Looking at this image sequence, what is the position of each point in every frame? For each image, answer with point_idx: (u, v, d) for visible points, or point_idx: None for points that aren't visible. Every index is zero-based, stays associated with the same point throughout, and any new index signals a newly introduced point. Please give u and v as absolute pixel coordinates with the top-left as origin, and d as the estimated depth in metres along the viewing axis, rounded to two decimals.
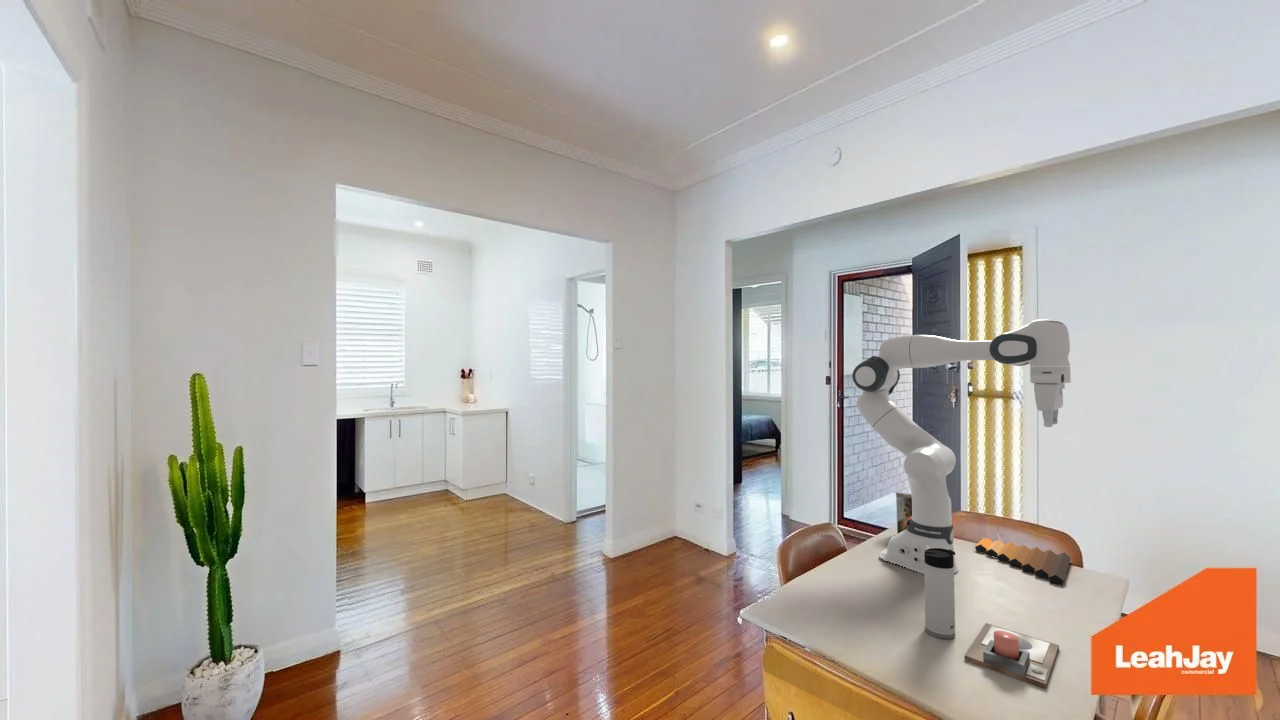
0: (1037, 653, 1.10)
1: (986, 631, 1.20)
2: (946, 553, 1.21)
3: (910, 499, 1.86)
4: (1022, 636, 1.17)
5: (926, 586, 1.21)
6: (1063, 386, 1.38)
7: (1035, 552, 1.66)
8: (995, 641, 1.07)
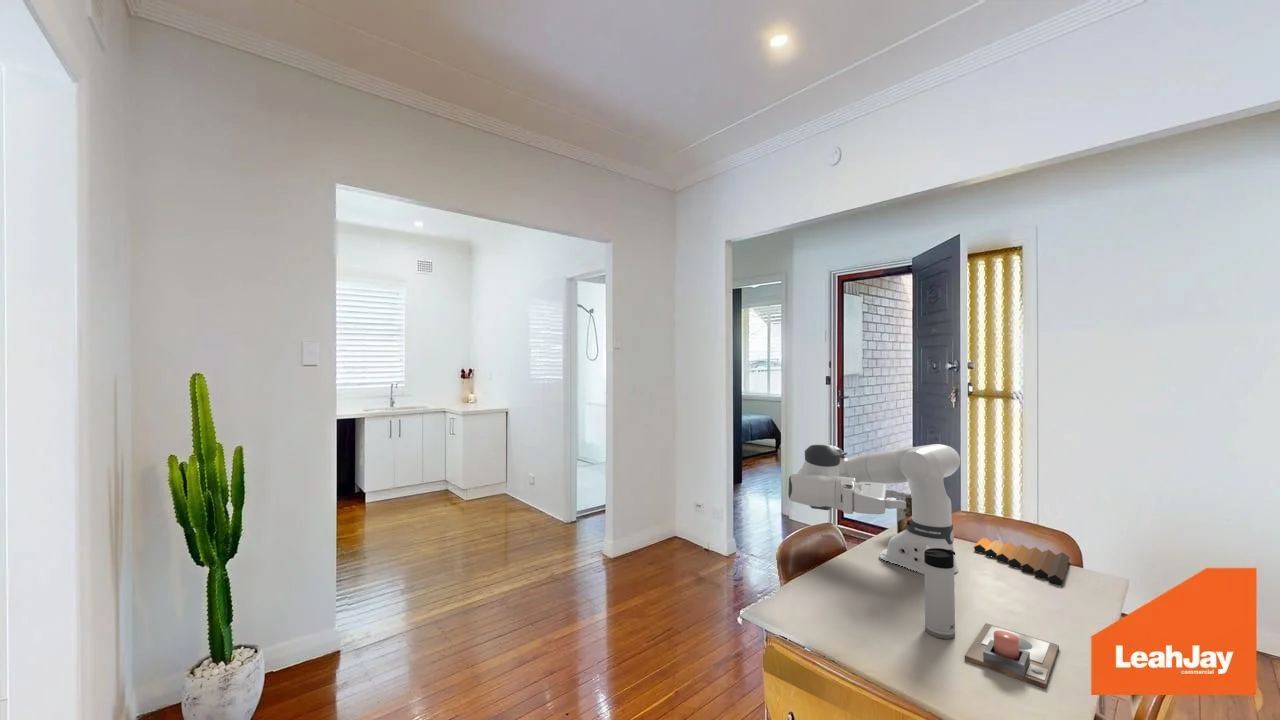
0: (1037, 653, 1.10)
1: (986, 631, 1.20)
2: (946, 553, 1.21)
3: (910, 499, 1.86)
4: (1022, 636, 1.17)
5: (926, 586, 1.21)
6: (859, 484, 1.34)
7: (1034, 552, 1.66)
8: (995, 641, 1.07)
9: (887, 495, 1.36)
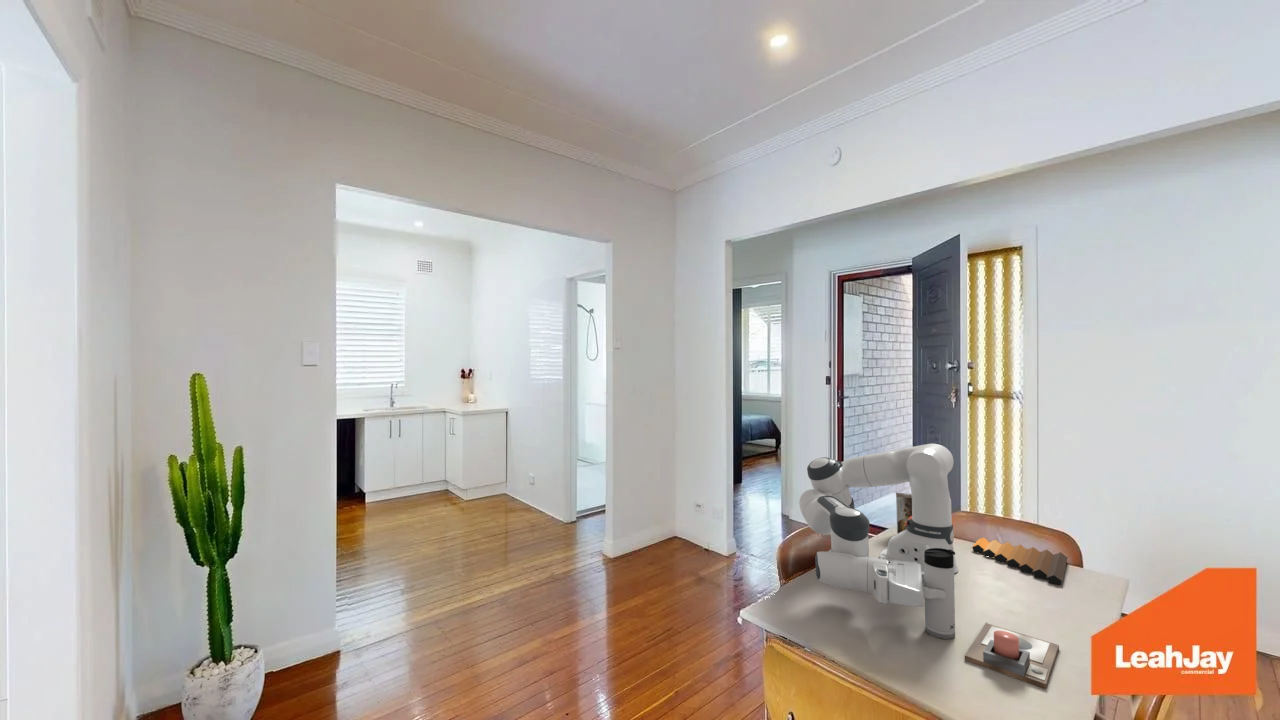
0: (1037, 653, 1.10)
1: (986, 631, 1.20)
2: (946, 553, 1.22)
3: (910, 499, 1.86)
4: (1022, 636, 1.17)
5: (926, 586, 1.21)
6: (892, 568, 1.25)
7: (1032, 552, 1.66)
8: (995, 641, 1.07)
9: (922, 579, 1.27)
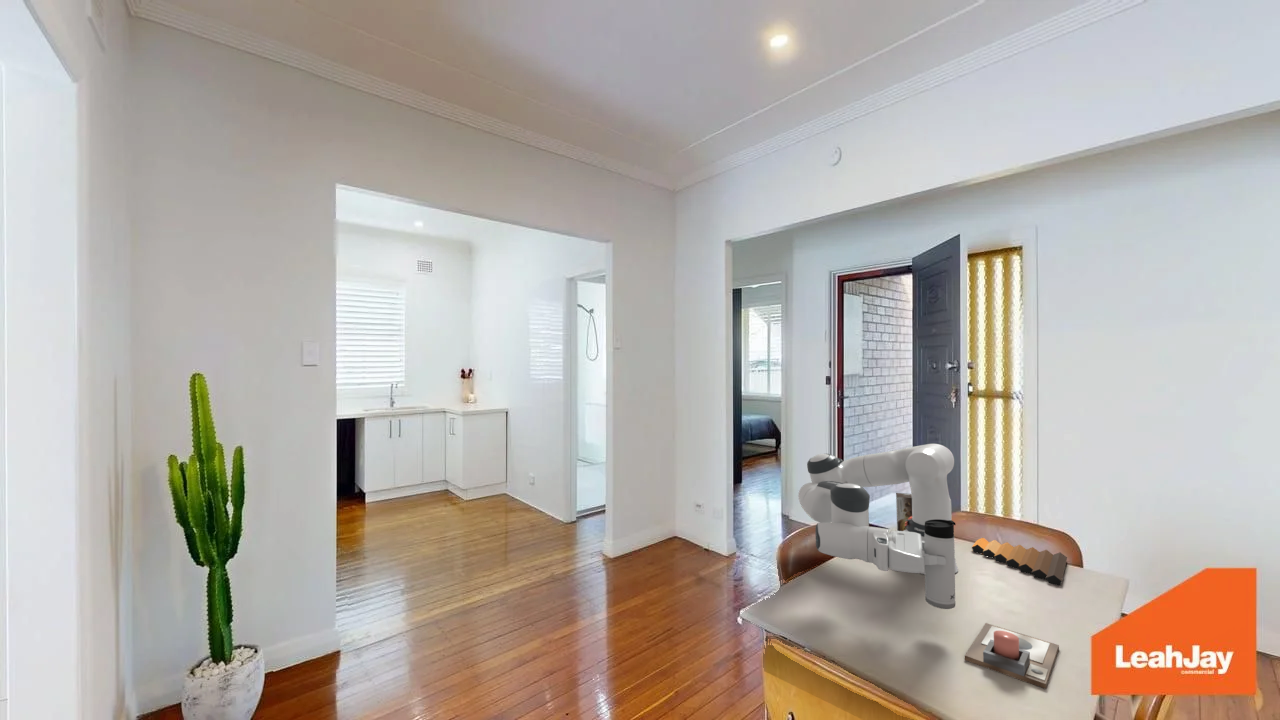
0: (1037, 653, 1.10)
1: (986, 631, 1.20)
2: (946, 524, 1.21)
3: (910, 499, 1.86)
4: (1022, 636, 1.17)
5: None
6: (892, 536, 1.25)
7: (1032, 552, 1.66)
8: (995, 641, 1.07)
9: (922, 548, 1.27)
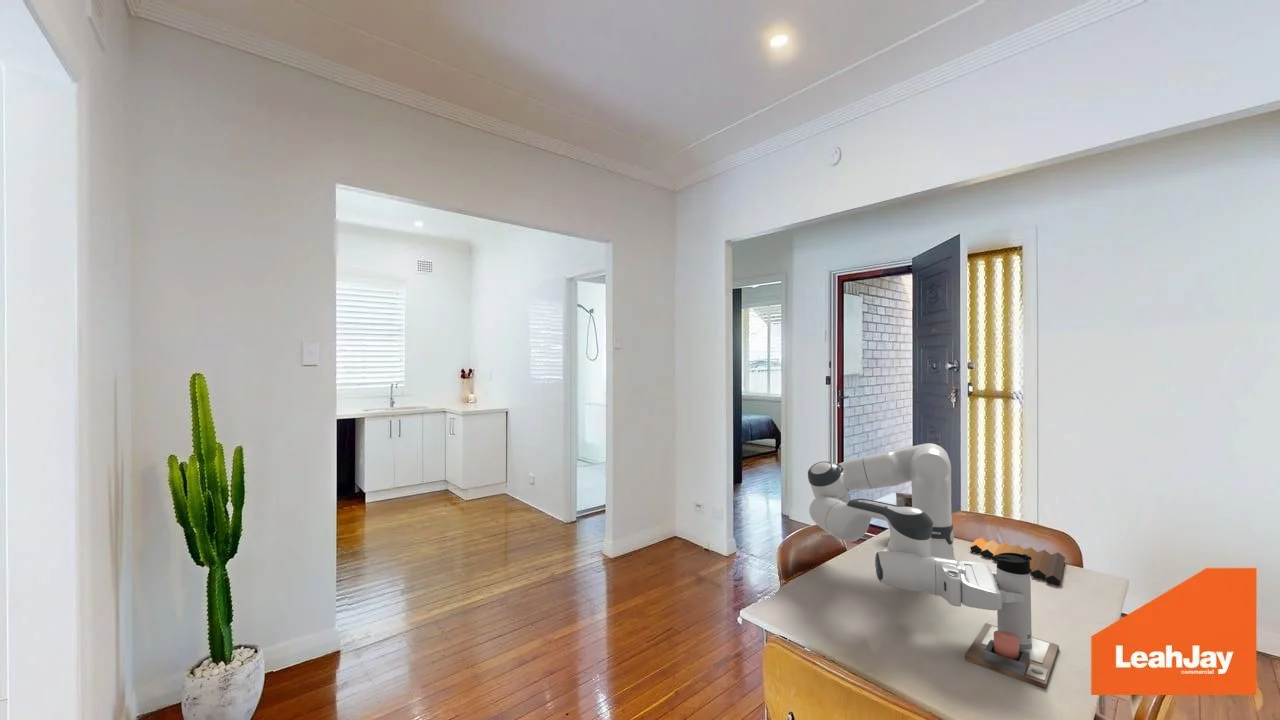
0: (1037, 653, 1.10)
1: (986, 631, 1.20)
2: (1021, 558, 1.15)
3: (910, 499, 1.86)
4: None
5: None
6: (962, 569, 1.19)
7: (1030, 552, 1.66)
8: (995, 641, 1.07)
9: None
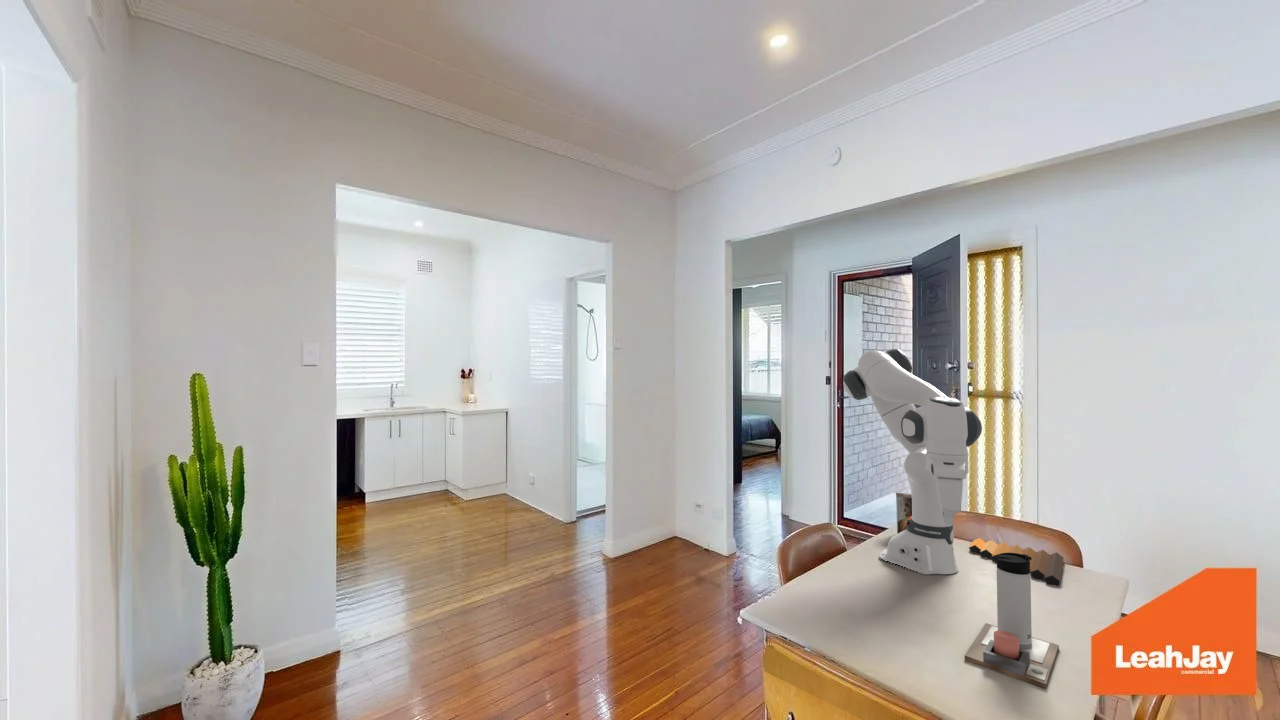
0: (1037, 653, 1.10)
1: (986, 631, 1.20)
2: (1021, 558, 1.15)
3: (910, 499, 1.86)
4: None
5: (1000, 593, 1.15)
6: None
7: (1029, 552, 1.66)
8: (995, 641, 1.07)
9: None
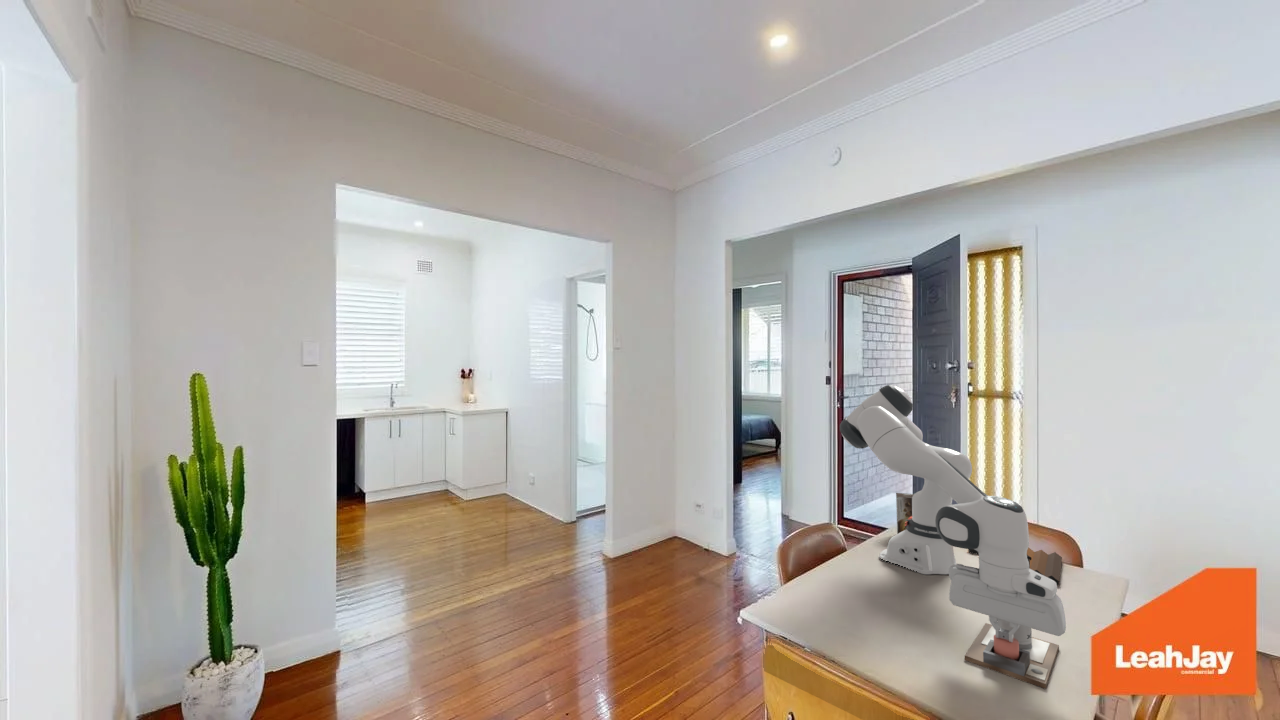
0: (1037, 653, 1.10)
1: (986, 631, 1.20)
2: None
3: (910, 499, 1.86)
4: None
5: None
6: None
7: (1027, 552, 1.66)
8: (995, 644, 1.07)
9: None
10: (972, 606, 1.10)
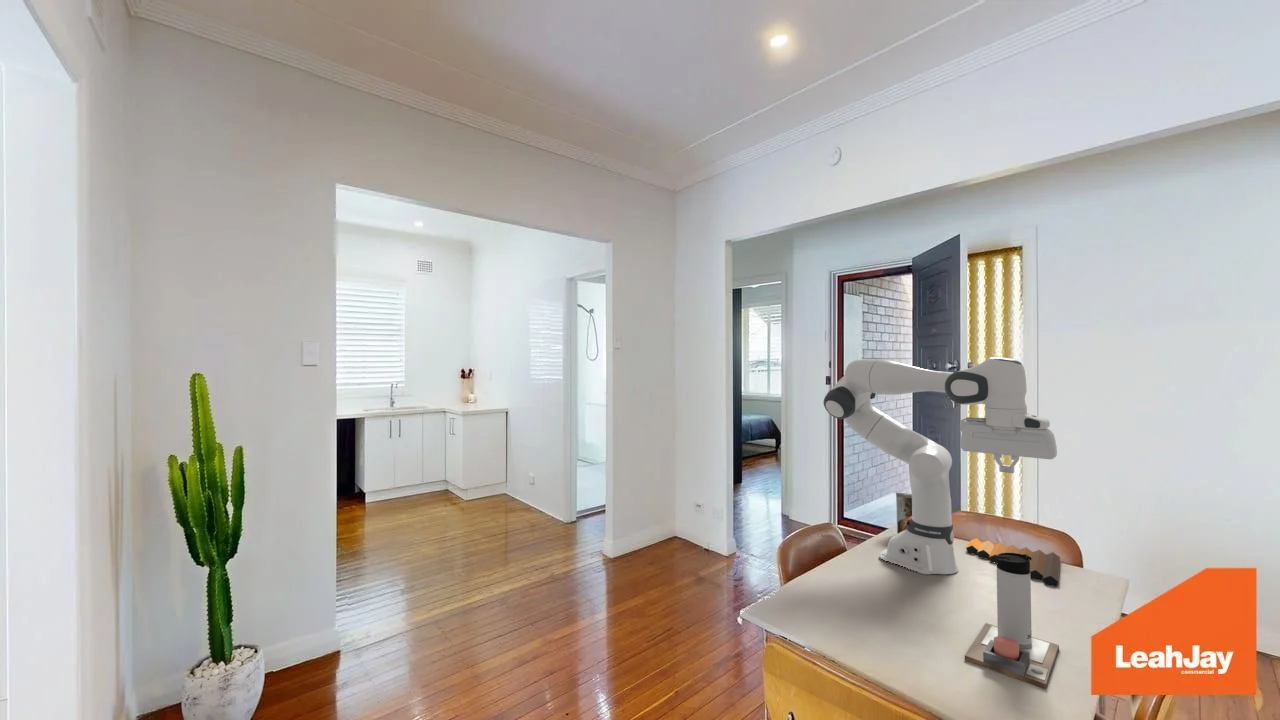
0: (1037, 653, 1.10)
1: (986, 631, 1.20)
2: (1021, 558, 1.15)
3: (910, 499, 1.86)
4: None
5: (1000, 593, 1.15)
6: None
7: (1026, 552, 1.66)
8: (995, 647, 1.07)
9: (1000, 455, 1.30)
10: (980, 448, 1.33)
